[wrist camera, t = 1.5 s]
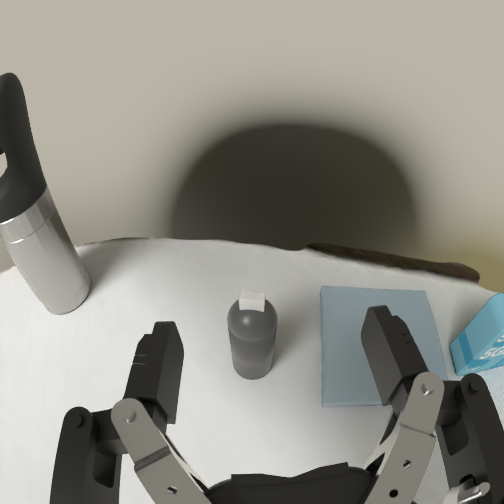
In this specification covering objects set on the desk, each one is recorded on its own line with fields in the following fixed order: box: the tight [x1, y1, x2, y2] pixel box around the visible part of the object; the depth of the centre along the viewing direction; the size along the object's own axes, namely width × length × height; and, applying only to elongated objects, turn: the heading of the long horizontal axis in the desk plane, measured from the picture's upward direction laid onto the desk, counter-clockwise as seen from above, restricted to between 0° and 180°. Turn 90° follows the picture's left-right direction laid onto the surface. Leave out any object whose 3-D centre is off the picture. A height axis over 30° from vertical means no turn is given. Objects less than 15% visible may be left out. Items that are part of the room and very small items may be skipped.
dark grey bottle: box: [227, 291, 277, 380], centre depth 27 cm, size 4×4×12 cm
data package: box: [450, 293, 504, 376], centre depth 24 cm, size 12×4×12 cm, turn 85°
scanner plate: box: [320, 286, 448, 407], centre depth 32 cm, size 16×16×2 cm
